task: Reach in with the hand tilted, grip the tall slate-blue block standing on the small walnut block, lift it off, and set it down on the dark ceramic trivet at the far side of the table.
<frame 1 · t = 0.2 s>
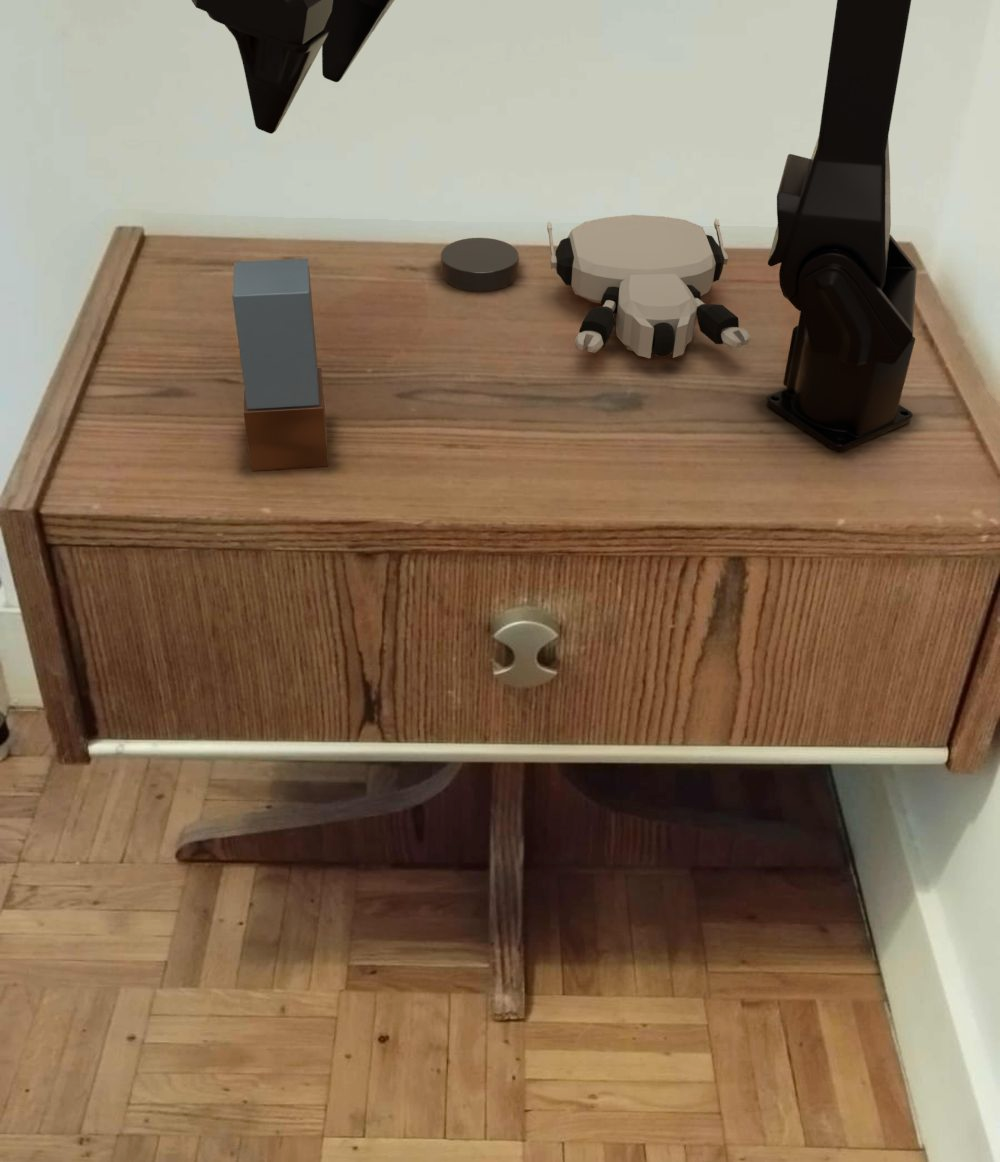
hand: (299, 103, 76), 15 cm above the nightstand, tool pointing down, fingers open, 9 cm apart
base block: (289, 447, 76), on the nightstand, touching top block
trivet: (479, 273, 93), on the nightstand
top block: (283, 389, 73), point 4 cm above the nightstand, touching base block
robot toy: (643, 321, 89), on the nightstand
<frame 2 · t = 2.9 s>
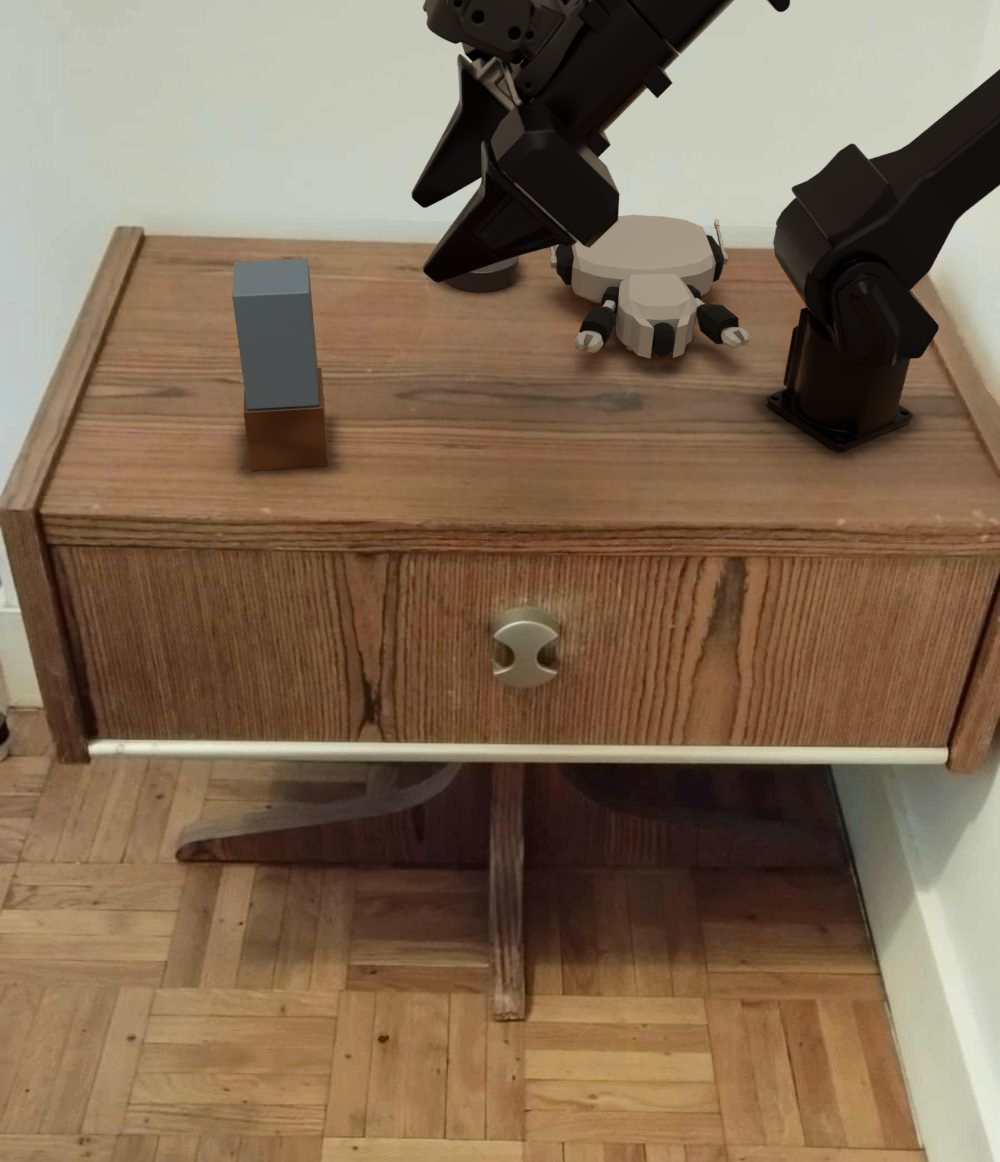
hand: (422, 237, 69), 13 cm above the nightstand, tool tilted 45°, fingers open, 9 cm apart
nothing on the nightstand moved.
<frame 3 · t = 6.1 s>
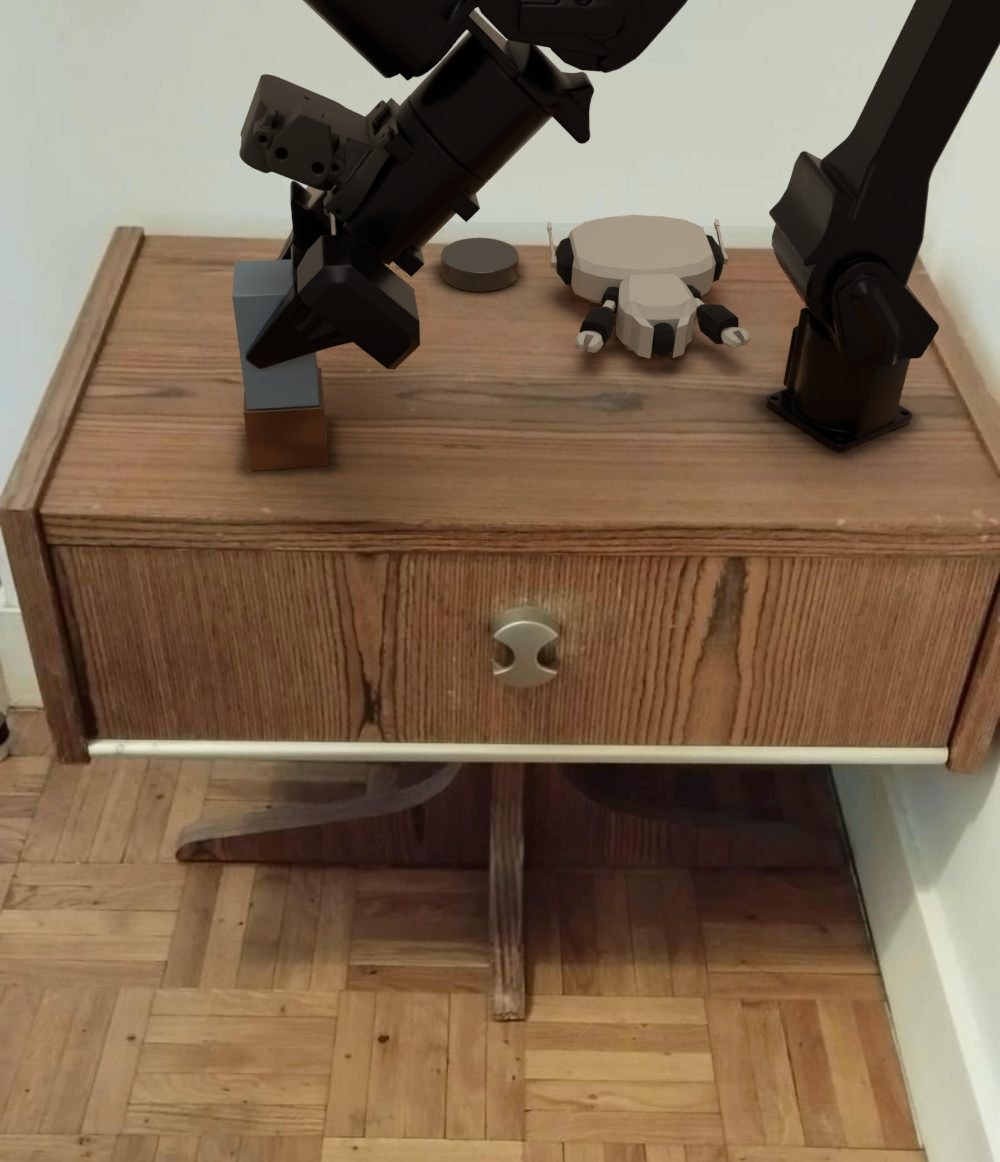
hand: (252, 342, 71), 7 cm above the nightstand, tool tilted 45°, fingers closed on top block, 4 cm apart
top block: (283, 389, 73), point 4 cm above the nightstand, touching base block, gripper
everything else where it was.
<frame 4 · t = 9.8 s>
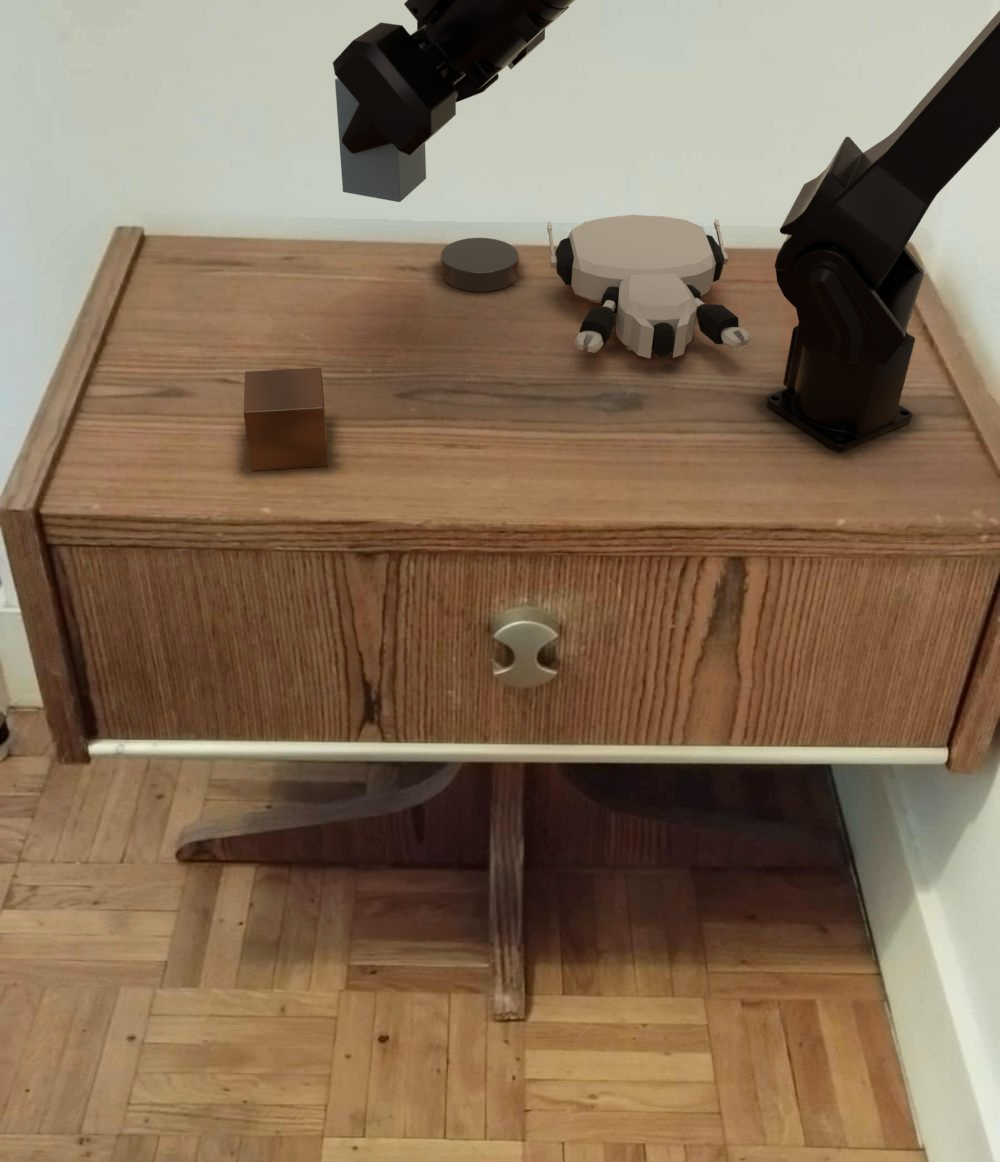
hand: (363, 134, 80), 13 cm above the nightstand, tool tilted 45°, fingers closed on top block, 4 cm apart
base block: (289, 447, 76), on the nightstand
top block: (384, 185, 82), point 9 cm above the nightstand, touching gripper
everything else where it was.
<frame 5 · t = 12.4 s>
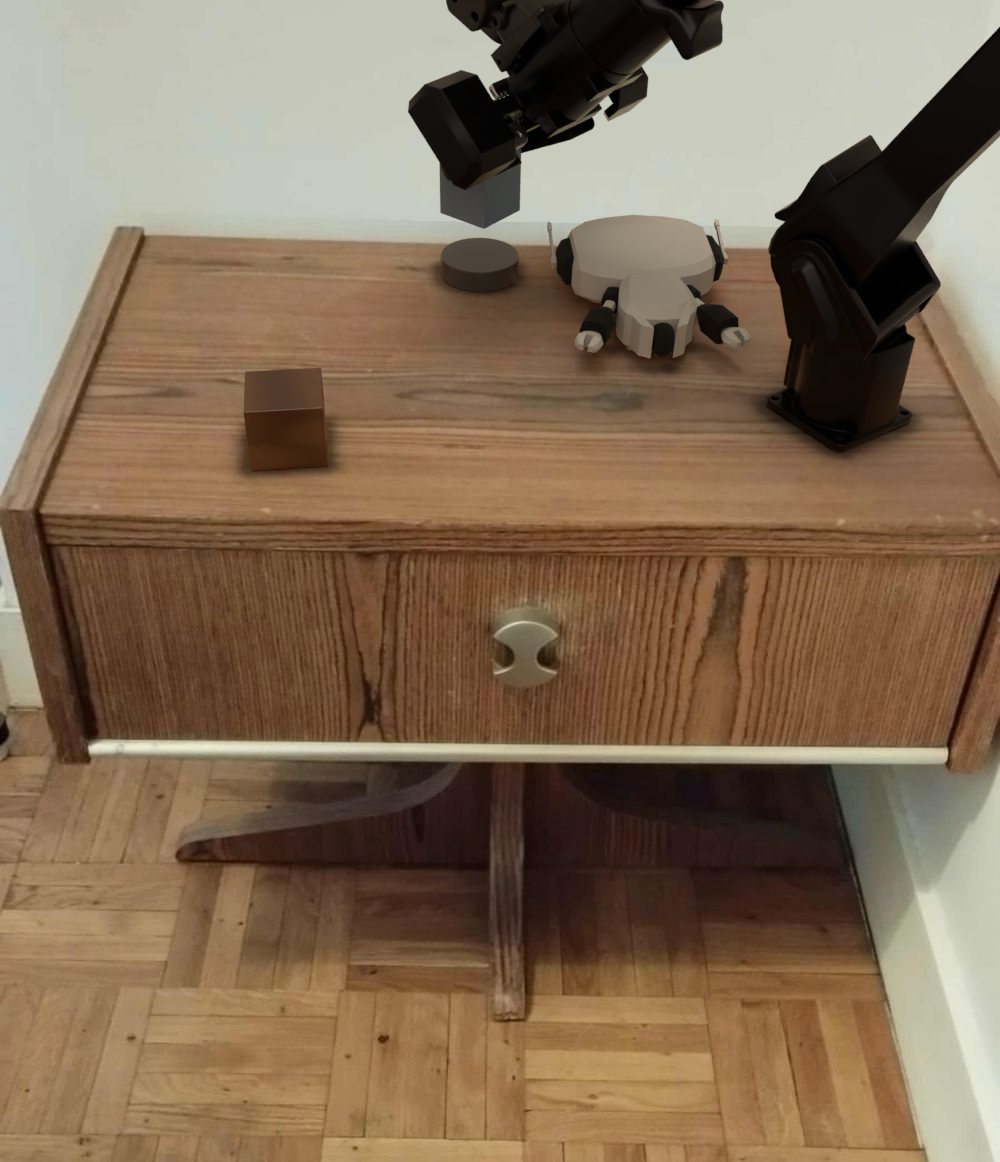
hand: (465, 164, 89), 8 cm above the nightstand, tool tilted 45°, fingers closed on top block, 4 cm apart
top block: (480, 212, 90), point 5 cm above the nightstand, touching gripper
everything else where it was.
when the fingers open (5 cm above the nightstand, at t = 13.8 s): top block stays where it is, resting on trivet.
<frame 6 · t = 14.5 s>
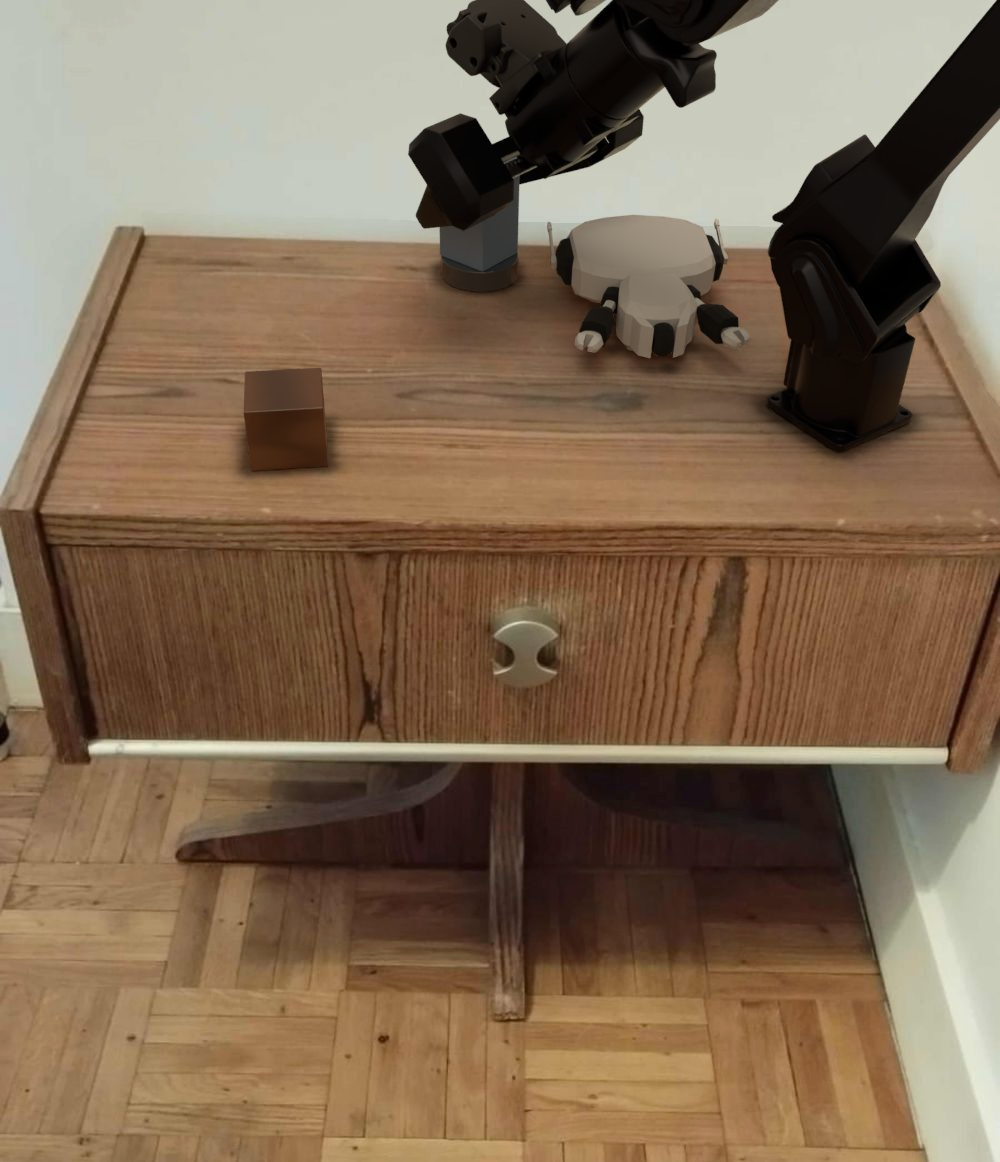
hand: (464, 200, 91), 5 cm above the nightstand, tool tilted 45°, fingers open, 9 cm apart
top block: (478, 254, 92), point 1 cm above the nightstand, touching trivet
everything else where it was.
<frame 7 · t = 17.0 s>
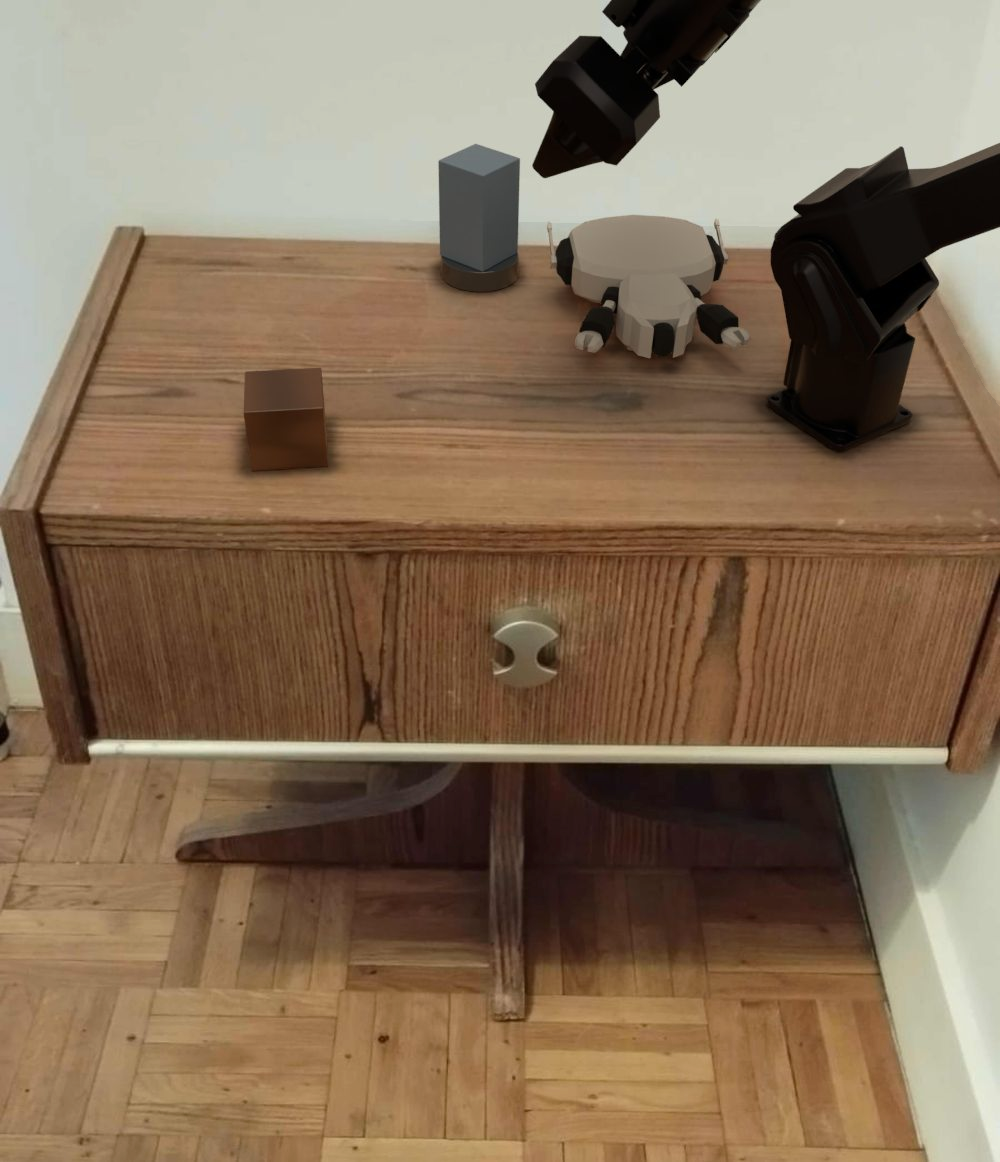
hand: (571, 137, 81), 12 cm above the nightstand, tool tilted 40°, fingers open, 9 cm apart
nothing on the nightstand moved.
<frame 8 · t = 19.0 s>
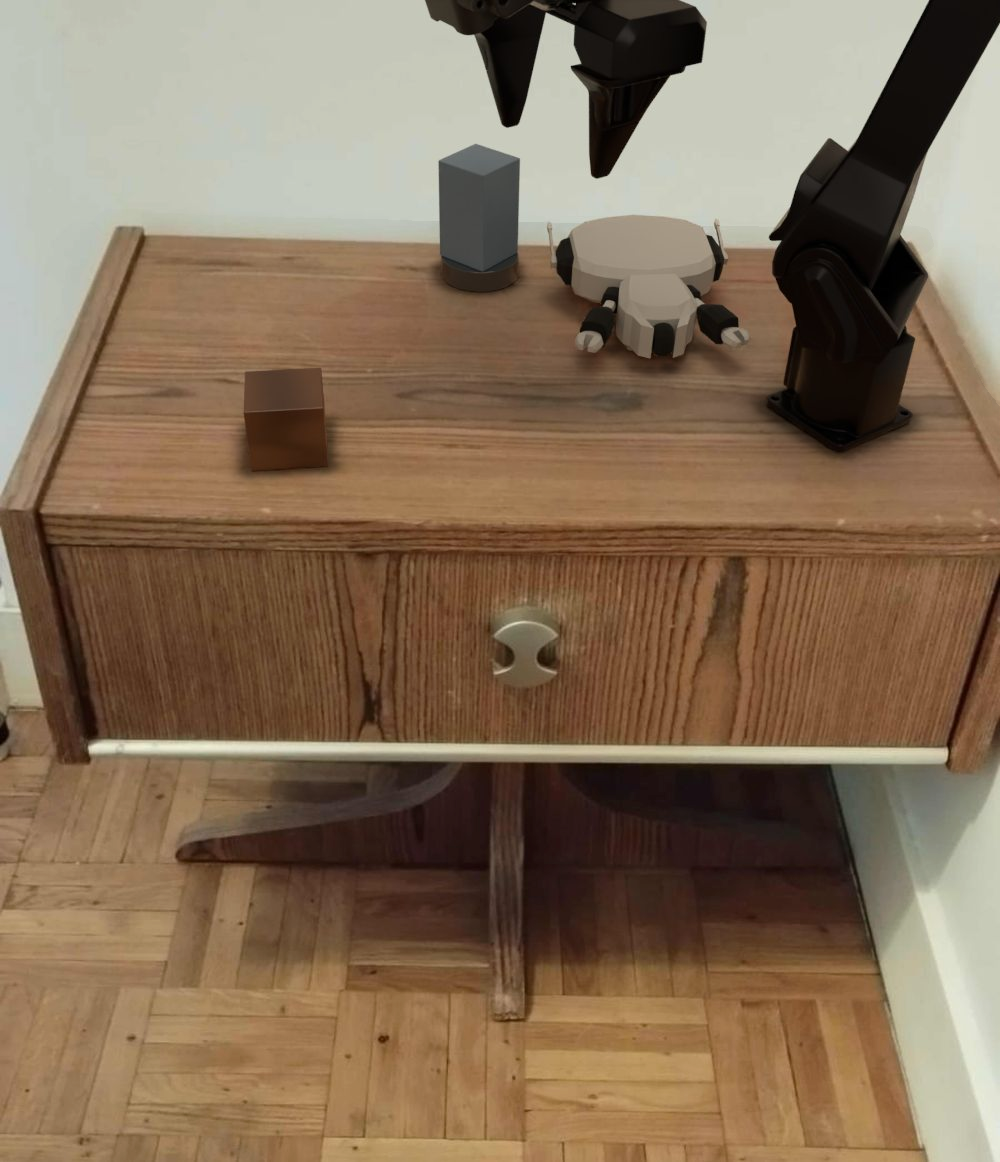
hand: (553, 150, 77), 13 cm above the nightstand, tool pointing down, fingers open, 9 cm apart
nothing on the nightstand moved.
at the end: top block 0.1 cm off-centre on the trivet, point 1.5 cm above the trivet's base; top block touching trivet; top block tilted 0° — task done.
